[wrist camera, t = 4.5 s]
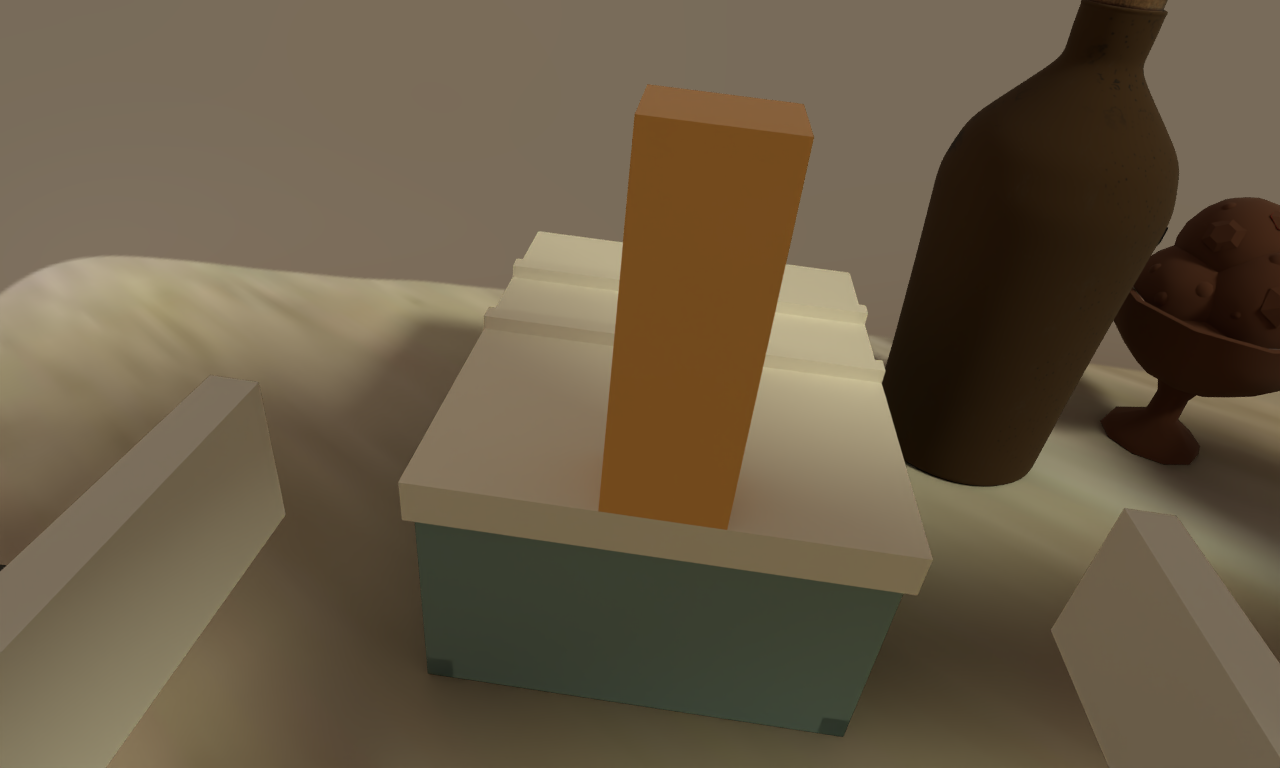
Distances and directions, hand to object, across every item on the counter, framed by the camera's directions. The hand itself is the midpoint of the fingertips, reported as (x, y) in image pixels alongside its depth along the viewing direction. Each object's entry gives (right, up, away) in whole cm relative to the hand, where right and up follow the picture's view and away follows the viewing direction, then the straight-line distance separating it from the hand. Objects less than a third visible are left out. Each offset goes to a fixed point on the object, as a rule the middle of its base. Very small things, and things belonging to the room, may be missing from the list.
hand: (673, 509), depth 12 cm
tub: (0, -5, +26) cm, 26 cm away
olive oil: (+18, -1, +34) cm, 39 cm away
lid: (+1, +2, +21) cm, 21 cm away
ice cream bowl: (+31, -2, +36) cm, 48 cm away
